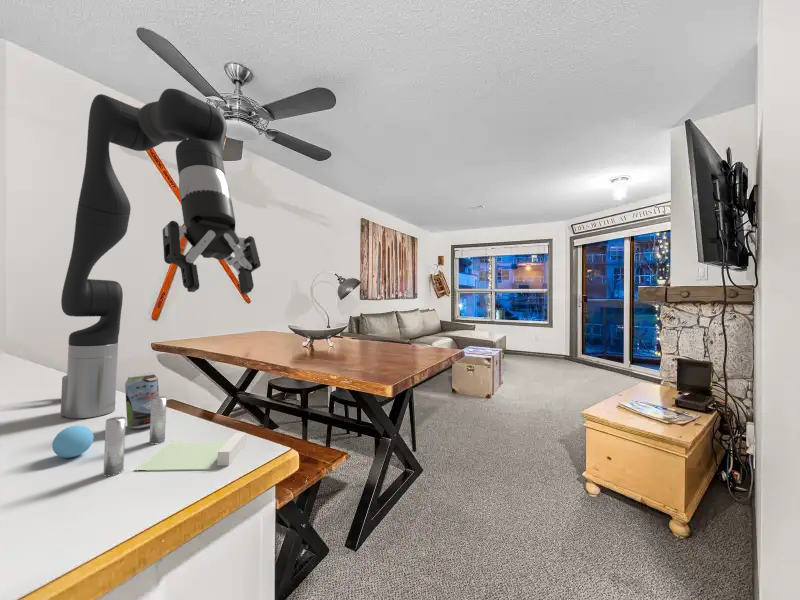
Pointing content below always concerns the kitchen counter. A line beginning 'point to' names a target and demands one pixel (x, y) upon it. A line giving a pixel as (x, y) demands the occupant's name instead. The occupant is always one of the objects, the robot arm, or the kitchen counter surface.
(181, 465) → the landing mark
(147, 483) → the kitchen counter surface
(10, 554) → the kitchen counter surface
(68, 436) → the ball
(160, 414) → the post
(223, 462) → the stopper wall
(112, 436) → the post
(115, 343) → the robot arm
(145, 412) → the beverage can
